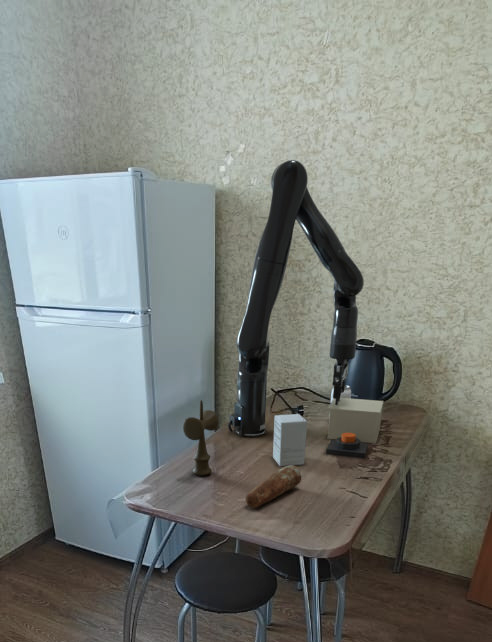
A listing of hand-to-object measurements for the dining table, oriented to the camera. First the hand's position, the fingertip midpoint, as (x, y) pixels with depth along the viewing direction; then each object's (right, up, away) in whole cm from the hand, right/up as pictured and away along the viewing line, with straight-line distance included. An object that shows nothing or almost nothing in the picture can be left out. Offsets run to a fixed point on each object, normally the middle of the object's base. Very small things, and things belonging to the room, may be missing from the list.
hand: (338, 395), depth 180 cm
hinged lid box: (+6, -12, +4) cm, 14 cm away
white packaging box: (-18, -23, -17) cm, 34 cm away
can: (+4, -6, +16) cm, 18 cm away
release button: (0, -16, -12) cm, 20 cm away
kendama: (-43, -27, -25) cm, 57 cm away
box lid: (+5, -4, 0) cm, 7 cm away
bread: (-25, -34, -40) cm, 58 cm away
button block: (0, -19, -10) cm, 22 cm away
